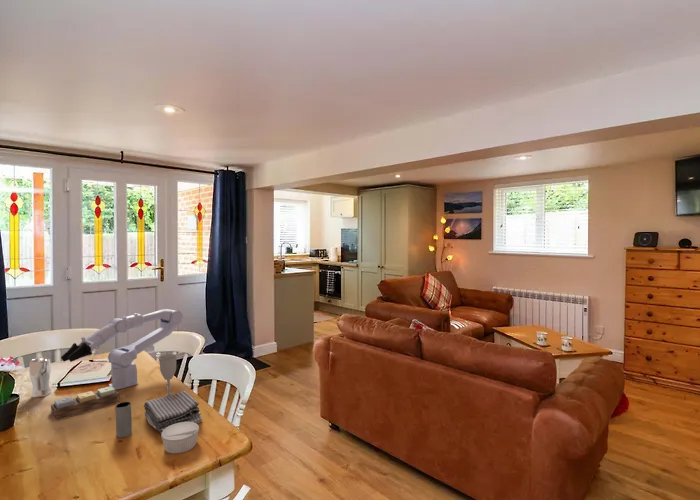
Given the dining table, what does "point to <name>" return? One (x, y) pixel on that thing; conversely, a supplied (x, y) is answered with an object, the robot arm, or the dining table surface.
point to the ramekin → (180, 437)
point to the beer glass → (40, 376)
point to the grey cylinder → (123, 419)
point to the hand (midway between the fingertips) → (65, 359)
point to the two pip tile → (85, 396)
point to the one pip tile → (105, 391)
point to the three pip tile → (64, 402)
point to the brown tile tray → (85, 405)
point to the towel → (172, 410)
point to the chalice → (168, 368)
